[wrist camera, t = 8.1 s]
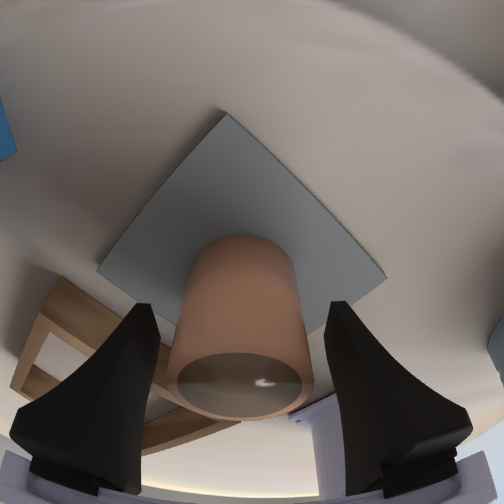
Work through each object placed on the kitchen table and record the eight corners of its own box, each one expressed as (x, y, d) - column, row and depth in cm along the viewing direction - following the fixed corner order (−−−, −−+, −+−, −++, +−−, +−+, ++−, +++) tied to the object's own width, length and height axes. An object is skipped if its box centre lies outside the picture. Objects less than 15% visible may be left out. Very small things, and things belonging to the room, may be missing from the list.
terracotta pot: (315, 285, 15) (340, 391, 10) (238, 331, 17) (234, 431, 12) (248, 213, 13) (247, 319, 8) (168, 275, 15) (137, 380, 10)
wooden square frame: (241, 385, 21) (241, 422, 18) (146, 430, 26) (142, 456, 24) (62, 276, 15) (39, 311, 13) (21, 361, 21) (9, 387, 18)
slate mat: (384, 272, 15) (387, 278, 15) (250, 363, 19) (250, 369, 19) (227, 112, 11) (226, 114, 11) (99, 266, 15) (96, 271, 14)
